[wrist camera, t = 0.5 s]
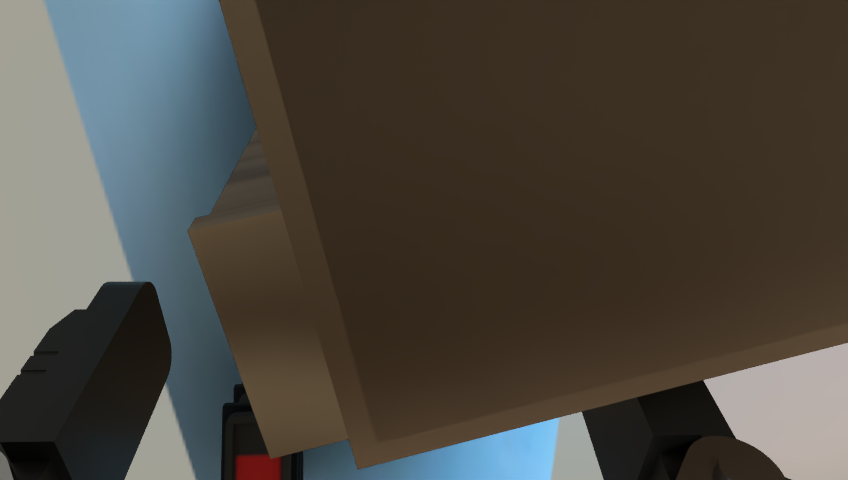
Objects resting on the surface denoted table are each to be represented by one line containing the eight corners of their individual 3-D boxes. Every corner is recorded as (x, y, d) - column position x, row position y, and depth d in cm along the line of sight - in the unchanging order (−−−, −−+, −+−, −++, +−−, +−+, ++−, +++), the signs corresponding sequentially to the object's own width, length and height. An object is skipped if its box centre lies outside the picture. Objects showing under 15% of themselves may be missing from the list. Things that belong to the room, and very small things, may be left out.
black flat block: (250, 531, 43) (213, 657, 29) (253, 344, 44) (219, 372, 30) (303, 528, 44) (294, 649, 29) (305, 343, 45) (297, 371, 30)
